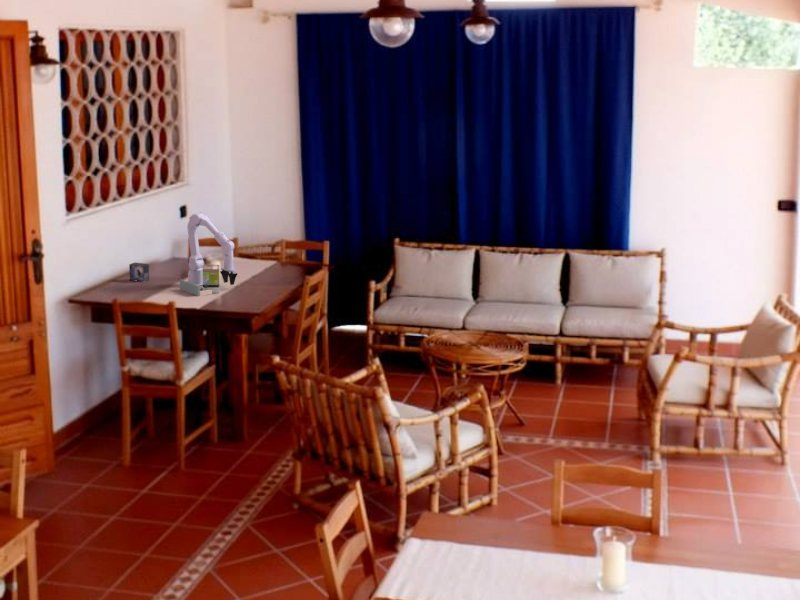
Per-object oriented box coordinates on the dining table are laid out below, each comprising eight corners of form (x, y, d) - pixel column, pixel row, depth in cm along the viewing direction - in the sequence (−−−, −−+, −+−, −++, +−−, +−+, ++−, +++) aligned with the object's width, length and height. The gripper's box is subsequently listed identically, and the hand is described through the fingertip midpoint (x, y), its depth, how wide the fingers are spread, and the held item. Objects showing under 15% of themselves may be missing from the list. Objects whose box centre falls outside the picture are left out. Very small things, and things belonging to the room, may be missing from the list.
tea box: (219, 293, 689) (219, 268, 685) (202, 293, 687) (202, 268, 684) (219, 288, 703) (219, 264, 700) (203, 288, 702) (202, 264, 698)
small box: (129, 280, 720) (128, 264, 718) (135, 278, 726) (134, 262, 724) (143, 282, 716) (143, 265, 714) (149, 280, 722) (149, 263, 720)
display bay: (179, 289, 697) (179, 279, 696) (193, 287, 703) (193, 277, 701) (198, 296, 680) (197, 285, 679) (212, 294, 685) (211, 284, 684)
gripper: (240, 262, 698) (240, 284, 701) (228, 258, 709) (228, 280, 712) (230, 263, 694) (230, 286, 697) (218, 260, 705) (218, 282, 708)
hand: (228, 283), depth 704 cm, fingers open, 7 cm apart
